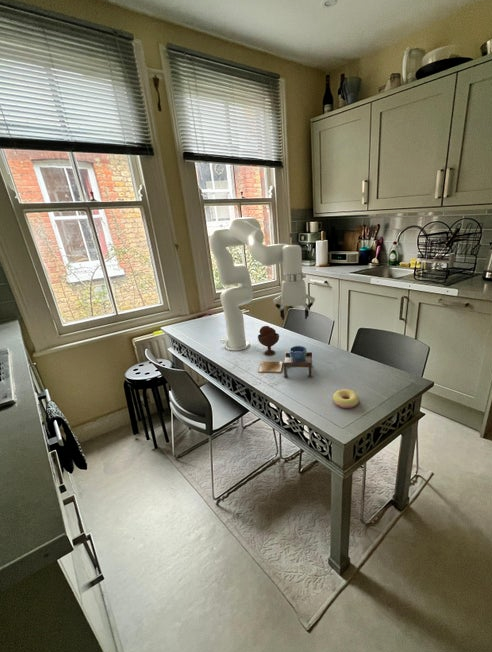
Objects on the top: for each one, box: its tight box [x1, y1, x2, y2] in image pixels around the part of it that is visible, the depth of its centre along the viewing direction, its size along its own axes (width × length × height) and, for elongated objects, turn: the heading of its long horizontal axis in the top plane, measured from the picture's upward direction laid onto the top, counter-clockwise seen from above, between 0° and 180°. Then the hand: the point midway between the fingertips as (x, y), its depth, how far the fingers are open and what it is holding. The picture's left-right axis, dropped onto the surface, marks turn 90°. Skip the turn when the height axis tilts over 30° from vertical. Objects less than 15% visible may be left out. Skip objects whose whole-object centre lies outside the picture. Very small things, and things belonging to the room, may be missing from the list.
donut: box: [332, 388, 360, 409], centre depth 117 cm, size 10×5×9 cm
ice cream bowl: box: [257, 325, 280, 356], centre depth 158 cm, size 11×11×15 cm
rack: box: [282, 351, 313, 379], centre depth 140 cm, size 12×11×7 cm
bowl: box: [288, 345, 307, 362], centre depth 138 cm, size 7×7×5 cm
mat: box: [258, 361, 284, 374], centre depth 147 cm, size 10×10×1 cm
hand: (294, 318), depth 133 cm, fingers open, 9 cm apart
